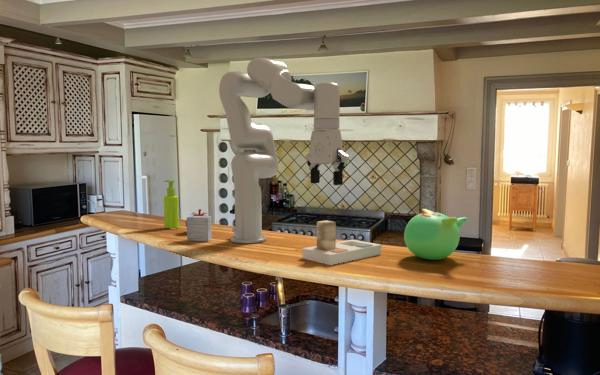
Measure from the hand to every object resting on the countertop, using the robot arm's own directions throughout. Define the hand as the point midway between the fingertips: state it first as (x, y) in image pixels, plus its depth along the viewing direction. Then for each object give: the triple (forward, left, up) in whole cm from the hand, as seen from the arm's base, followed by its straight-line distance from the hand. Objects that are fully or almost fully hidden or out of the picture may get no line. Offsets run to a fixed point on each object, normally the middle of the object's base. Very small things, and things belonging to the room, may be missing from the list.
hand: (326, 184), depth 142 cm
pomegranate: (-65, -6, -23) cm, 70 cm away
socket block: (+2, +6, -22) cm, 23 cm away
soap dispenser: (-83, -9, -23) cm, 87 cm away
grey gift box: (-50, -14, -23) cm, 57 cm away
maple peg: (0, 0, -22) cm, 22 cm away
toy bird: (+22, +24, -23) cm, 39 cm away
